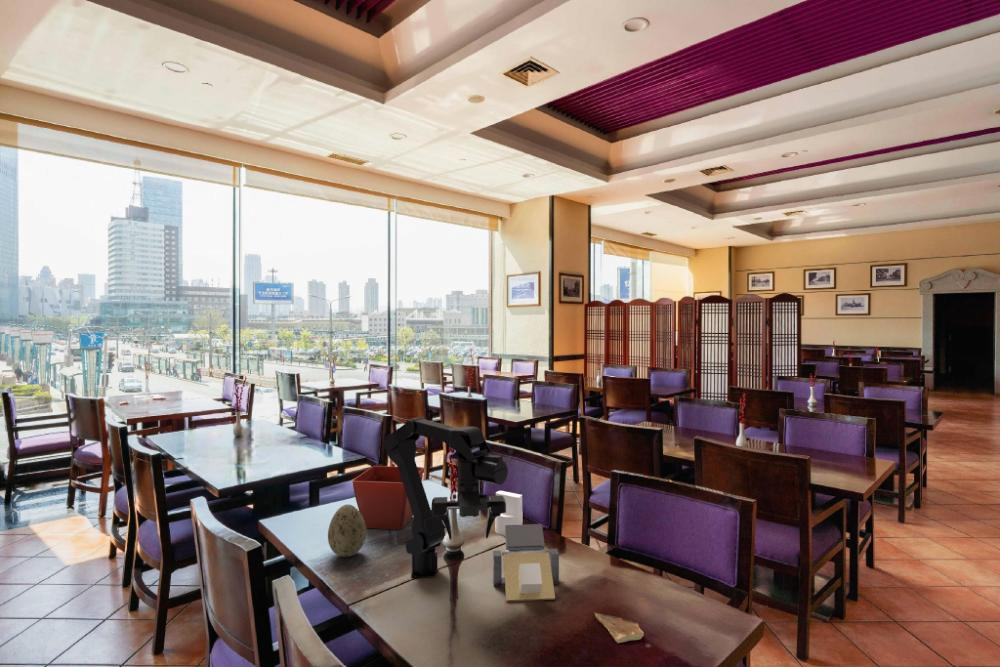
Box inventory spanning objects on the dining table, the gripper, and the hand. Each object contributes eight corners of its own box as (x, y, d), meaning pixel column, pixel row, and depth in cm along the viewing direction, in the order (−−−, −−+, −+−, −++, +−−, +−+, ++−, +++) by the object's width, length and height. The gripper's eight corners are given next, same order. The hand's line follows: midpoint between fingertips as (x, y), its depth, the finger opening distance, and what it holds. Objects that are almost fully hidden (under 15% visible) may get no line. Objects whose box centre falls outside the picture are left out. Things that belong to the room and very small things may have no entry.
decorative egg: (333, 567, 144) (333, 513, 144) (323, 553, 154) (323, 502, 153) (371, 558, 150) (371, 506, 150) (359, 544, 159) (359, 496, 159)
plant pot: (373, 511, 188) (373, 464, 188) (424, 513, 186) (424, 466, 185) (351, 531, 169) (351, 480, 169) (407, 535, 167) (407, 483, 166)
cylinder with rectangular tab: (527, 528, 172) (527, 492, 172) (513, 537, 165) (513, 500, 164) (504, 523, 177) (504, 488, 177) (489, 531, 170) (489, 495, 169)
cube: (519, 593, 128) (521, 584, 124) (518, 573, 131) (519, 563, 128) (540, 592, 128) (542, 583, 125) (537, 572, 132) (539, 563, 128)
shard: (594, 617, 121) (594, 610, 121) (624, 613, 123) (624, 605, 122) (615, 645, 110) (615, 637, 110) (648, 640, 112) (648, 632, 112)
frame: (493, 586, 134) (493, 555, 134) (493, 581, 137) (493, 550, 137) (558, 584, 135) (558, 553, 135) (556, 578, 138) (556, 548, 138)
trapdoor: (505, 603, 127) (505, 598, 125) (500, 530, 142) (500, 525, 140) (555, 601, 128) (556, 596, 127) (545, 529, 143) (546, 523, 141)
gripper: (430, 488, 124) (430, 553, 124) (508, 486, 125) (508, 550, 125) (432, 475, 135) (432, 534, 135) (503, 473, 136) (503, 532, 136)
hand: (468, 538), depth 133 cm, fingers open, 9 cm apart
